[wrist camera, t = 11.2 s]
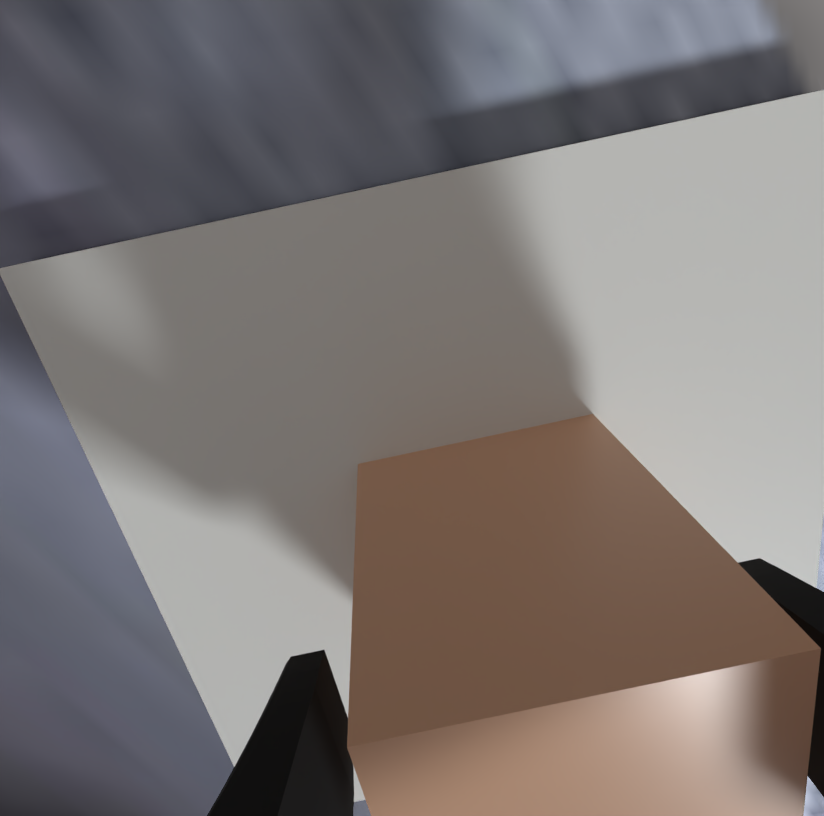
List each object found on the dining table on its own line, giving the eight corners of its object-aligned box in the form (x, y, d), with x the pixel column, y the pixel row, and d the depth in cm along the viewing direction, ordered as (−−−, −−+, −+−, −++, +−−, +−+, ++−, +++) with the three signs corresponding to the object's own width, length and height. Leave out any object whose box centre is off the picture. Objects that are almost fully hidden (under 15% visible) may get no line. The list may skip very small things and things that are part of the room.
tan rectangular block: (406, 642, 14) (434, 993, 8) (358, 463, 12) (347, 746, 6) (608, 600, 14) (791, 920, 8) (592, 414, 12) (821, 648, 6)
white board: (266, 786, 17) (217, 1076, 12) (28, 261, 11) (-313, 340, 6) (781, 680, 17) (980, 920, 11) (823, 89, 11) (1290, -7, 5)
